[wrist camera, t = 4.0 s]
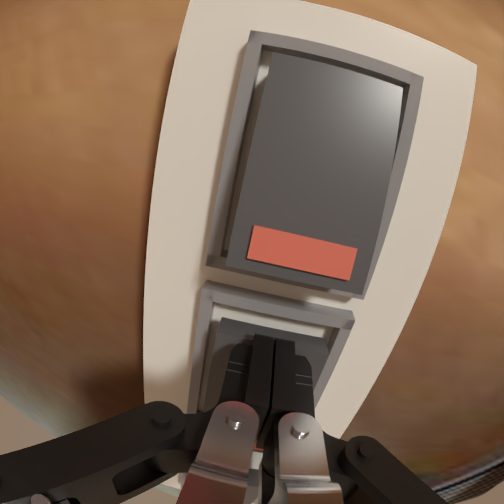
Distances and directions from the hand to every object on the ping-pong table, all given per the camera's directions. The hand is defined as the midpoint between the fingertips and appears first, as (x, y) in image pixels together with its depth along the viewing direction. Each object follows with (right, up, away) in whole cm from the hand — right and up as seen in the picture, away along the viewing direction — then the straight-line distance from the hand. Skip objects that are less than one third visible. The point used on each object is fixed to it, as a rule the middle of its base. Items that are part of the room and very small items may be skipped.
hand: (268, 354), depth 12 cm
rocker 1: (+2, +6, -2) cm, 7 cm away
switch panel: (0, -1, +6) cm, 6 cm away
